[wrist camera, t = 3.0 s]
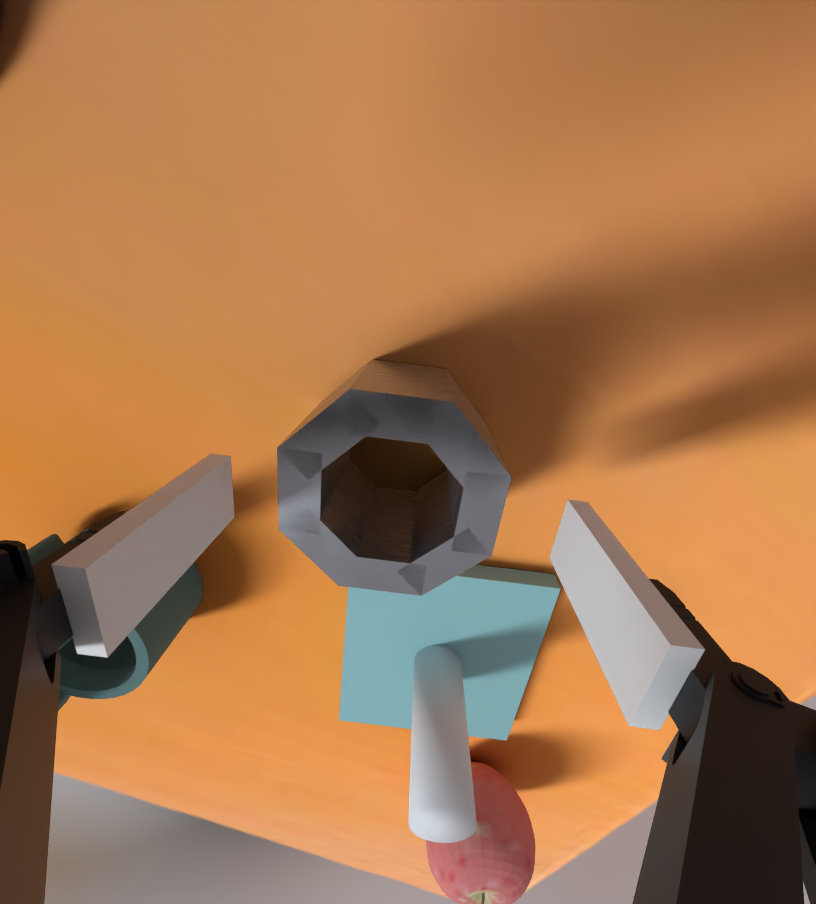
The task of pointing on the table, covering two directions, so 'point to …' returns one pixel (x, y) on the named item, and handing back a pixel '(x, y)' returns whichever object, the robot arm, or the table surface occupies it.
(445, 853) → the apple
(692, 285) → the table surface
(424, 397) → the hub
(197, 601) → the bracket
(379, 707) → the stand
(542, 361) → the table surface
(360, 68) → the table surface
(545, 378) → the table surface
